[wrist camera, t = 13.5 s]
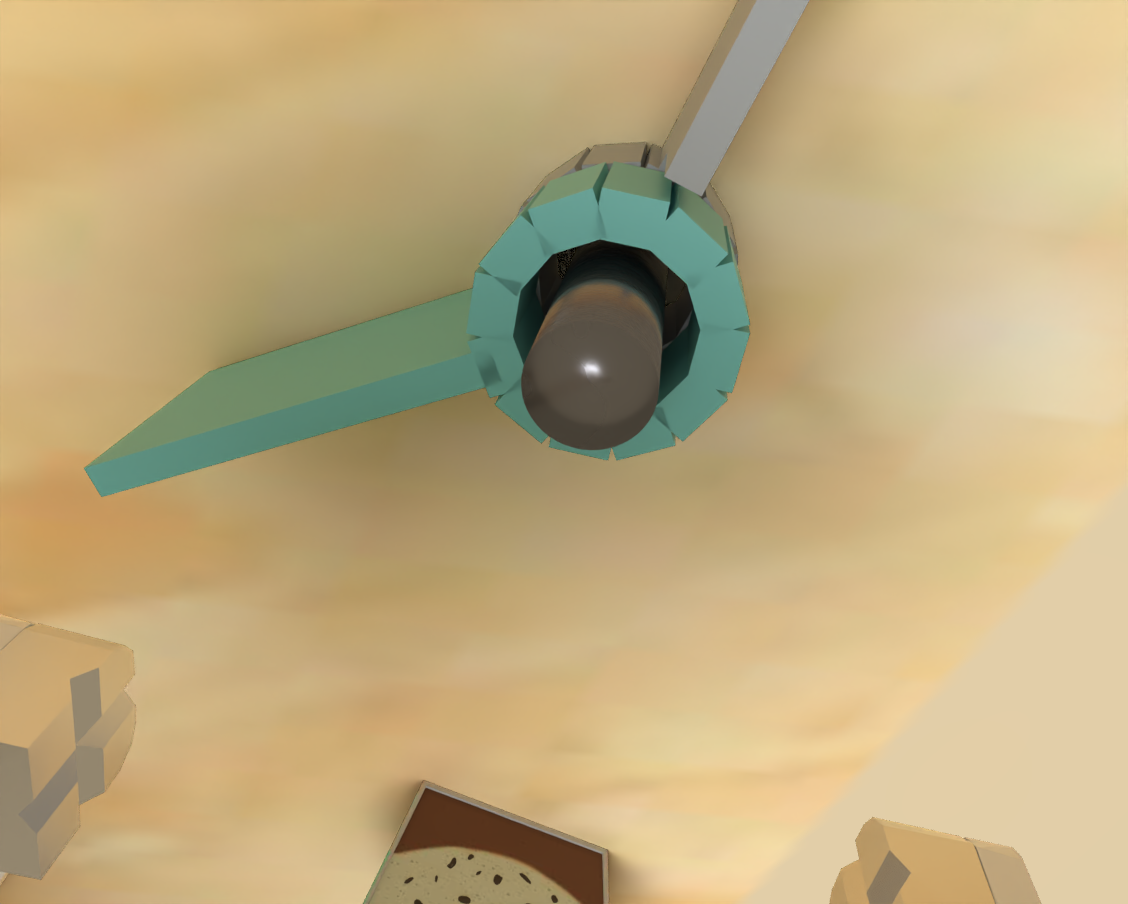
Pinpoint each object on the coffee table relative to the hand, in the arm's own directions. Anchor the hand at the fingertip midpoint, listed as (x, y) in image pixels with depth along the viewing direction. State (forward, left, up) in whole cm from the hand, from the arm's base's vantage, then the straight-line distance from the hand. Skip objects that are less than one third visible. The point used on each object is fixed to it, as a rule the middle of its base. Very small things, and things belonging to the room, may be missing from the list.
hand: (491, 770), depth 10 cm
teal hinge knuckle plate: (-4, +4, -22) cm, 23 cm away
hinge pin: (0, 0, -23) cm, 23 cm away
